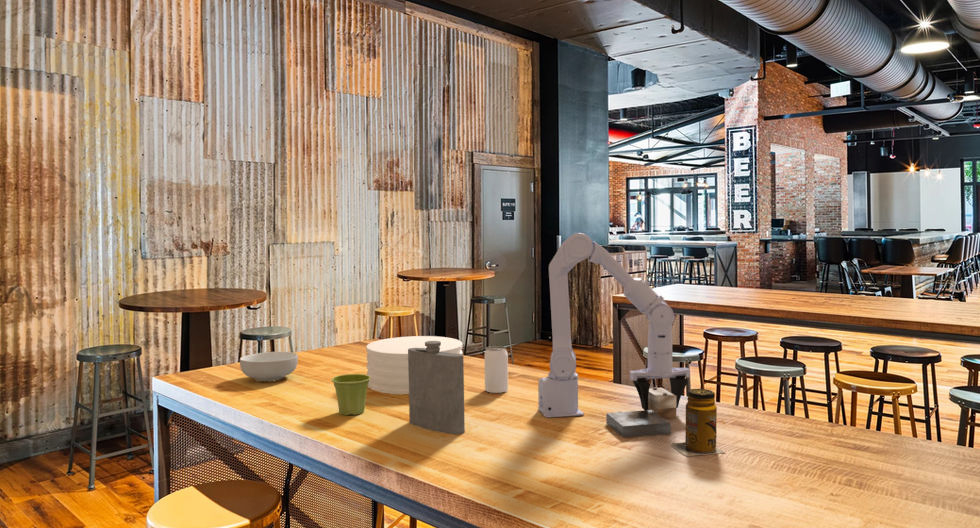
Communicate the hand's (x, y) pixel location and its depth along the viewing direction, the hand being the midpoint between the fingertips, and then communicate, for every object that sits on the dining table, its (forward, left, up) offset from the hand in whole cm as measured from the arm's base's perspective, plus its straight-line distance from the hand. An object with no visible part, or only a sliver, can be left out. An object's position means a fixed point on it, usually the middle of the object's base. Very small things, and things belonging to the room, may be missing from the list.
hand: (659, 407), depth 158 cm
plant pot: (-73, +19, -2) cm, 75 cm away
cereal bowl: (-99, +61, -2) cm, 116 cm away
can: (-34, +31, -2) cm, 46 cm away
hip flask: (-54, +2, -2) cm, 54 cm away
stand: (-10, -9, -2) cm, 13 cm away
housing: (0, 0, -2) cm, 2 cm away
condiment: (-3, -24, -2) cm, 24 cm away
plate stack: (-55, +46, -2) cm, 72 cm away
